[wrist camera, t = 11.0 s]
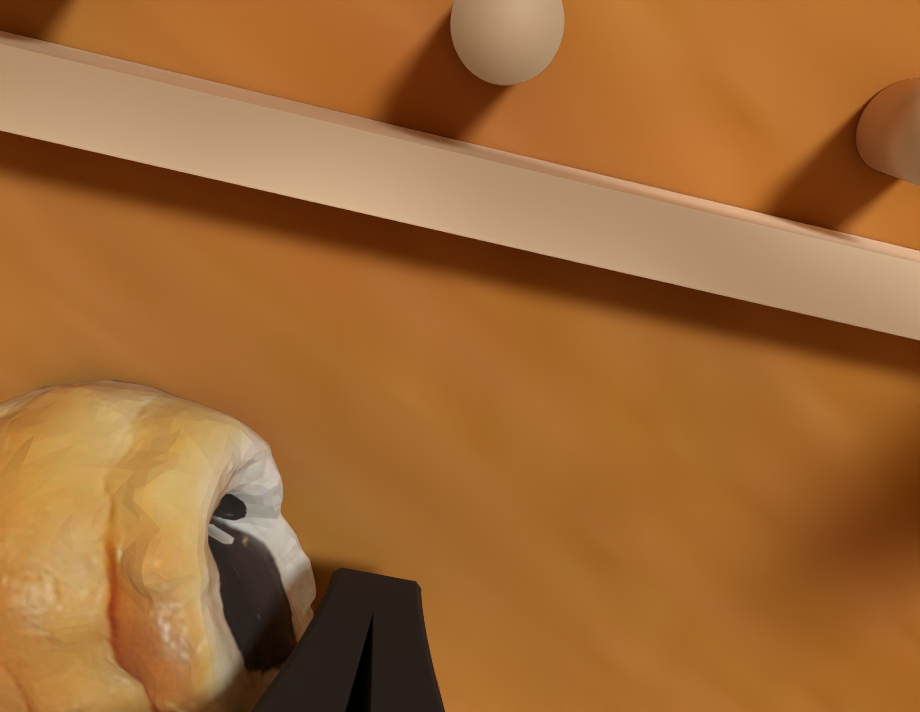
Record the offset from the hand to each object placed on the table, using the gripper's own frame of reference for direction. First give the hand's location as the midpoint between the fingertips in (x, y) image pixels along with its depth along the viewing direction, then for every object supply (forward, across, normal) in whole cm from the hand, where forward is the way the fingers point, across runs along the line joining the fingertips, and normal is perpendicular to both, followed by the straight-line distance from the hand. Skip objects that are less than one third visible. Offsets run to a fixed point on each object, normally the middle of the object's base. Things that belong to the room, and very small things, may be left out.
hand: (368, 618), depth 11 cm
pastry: (+2, +5, +1) cm, 5 cm away
